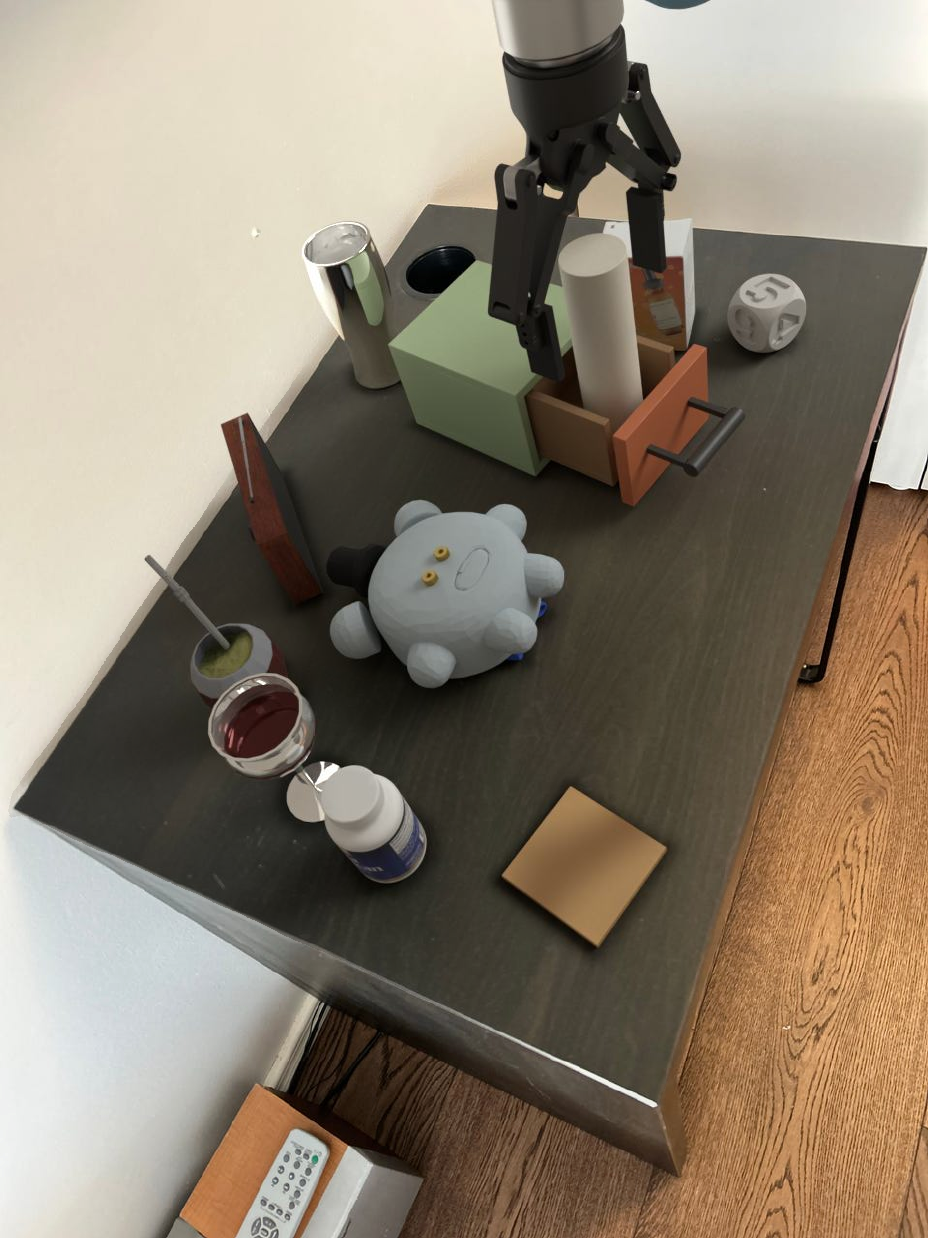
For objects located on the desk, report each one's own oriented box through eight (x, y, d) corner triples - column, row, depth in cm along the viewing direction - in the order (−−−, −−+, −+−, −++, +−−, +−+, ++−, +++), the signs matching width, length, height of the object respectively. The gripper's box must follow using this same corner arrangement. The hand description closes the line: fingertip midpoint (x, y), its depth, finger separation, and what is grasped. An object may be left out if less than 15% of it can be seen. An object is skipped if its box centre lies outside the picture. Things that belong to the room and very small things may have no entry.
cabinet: (617, 386, 91) (606, 300, 83) (535, 476, 87) (515, 395, 79) (497, 341, 99) (476, 259, 91) (416, 423, 94) (387, 344, 87)
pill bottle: (344, 873, 70) (294, 819, 62) (374, 805, 72) (330, 746, 64) (410, 895, 67) (368, 842, 60) (439, 825, 70) (402, 765, 62)
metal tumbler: (391, 399, 97) (342, 272, 85) (338, 383, 101) (284, 260, 89) (429, 353, 100) (386, 225, 88) (376, 339, 103) (329, 214, 91)
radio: (253, 486, 95) (183, 369, 83) (282, 474, 95) (215, 355, 83) (297, 625, 84) (222, 513, 72) (329, 611, 84) (260, 496, 72)
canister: (657, 421, 84) (640, 241, 70) (624, 459, 83) (600, 283, 68) (609, 403, 87) (584, 226, 73) (577, 439, 85) (544, 266, 71)
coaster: (667, 850, 65) (666, 847, 65) (597, 948, 63) (596, 945, 62) (571, 789, 69) (570, 785, 69) (502, 878, 67) (501, 875, 66)
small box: (604, 351, 94) (591, 258, 86) (615, 313, 97) (603, 219, 88) (688, 351, 91) (683, 256, 83) (696, 312, 94) (692, 215, 86)
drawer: (759, 436, 82) (761, 365, 76) (684, 529, 79) (679, 462, 72) (583, 371, 92) (572, 303, 85) (508, 452, 88) (490, 387, 82)
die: (805, 331, 89) (809, 286, 85) (767, 361, 88) (768, 316, 84) (764, 310, 92) (765, 265, 88) (726, 338, 91) (725, 294, 87)
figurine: (602, 556, 80) (403, 524, 90) (578, 484, 73) (367, 459, 83) (517, 734, 72) (311, 678, 82) (482, 672, 66) (263, 619, 76)
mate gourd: (293, 743, 77) (211, 640, 65) (204, 739, 79) (109, 639, 67) (315, 662, 81) (242, 552, 69) (230, 661, 83) (145, 553, 71)
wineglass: (350, 739, 76) (294, 658, 66) (368, 814, 72) (311, 740, 62) (269, 769, 76) (201, 693, 66) (283, 846, 72) (213, 777, 62)
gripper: (627, -70, 64) (650, 214, 81) (382, 139, 56) (464, 406, 73) (728, -62, 60) (729, 235, 77) (480, 164, 52) (542, 440, 70)
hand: (600, 319), depth 75 cm, fingers open, 13 cm apart
